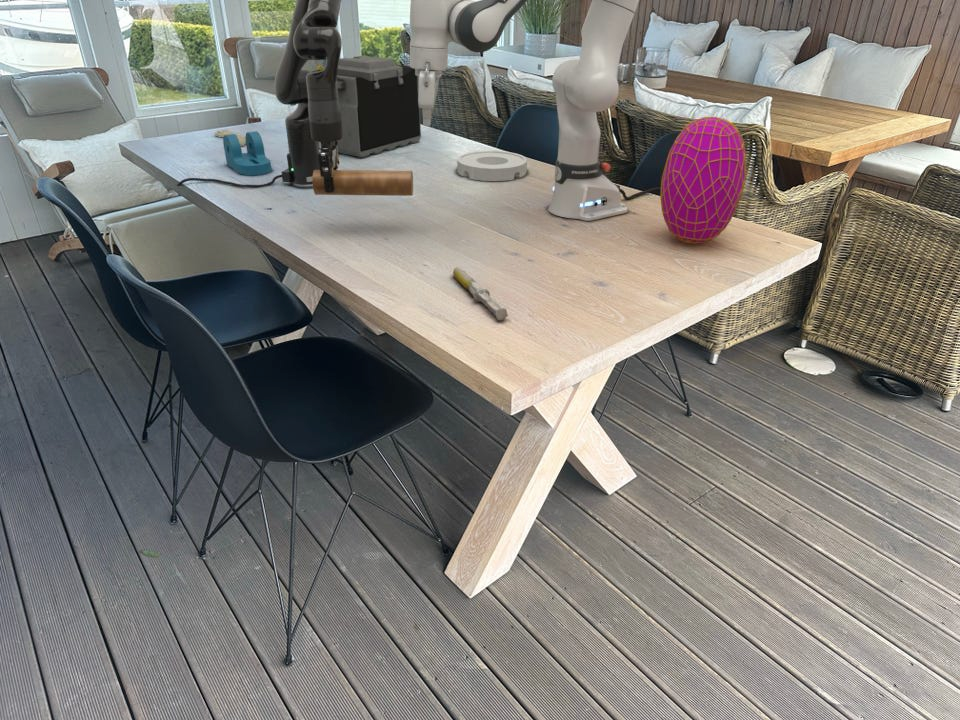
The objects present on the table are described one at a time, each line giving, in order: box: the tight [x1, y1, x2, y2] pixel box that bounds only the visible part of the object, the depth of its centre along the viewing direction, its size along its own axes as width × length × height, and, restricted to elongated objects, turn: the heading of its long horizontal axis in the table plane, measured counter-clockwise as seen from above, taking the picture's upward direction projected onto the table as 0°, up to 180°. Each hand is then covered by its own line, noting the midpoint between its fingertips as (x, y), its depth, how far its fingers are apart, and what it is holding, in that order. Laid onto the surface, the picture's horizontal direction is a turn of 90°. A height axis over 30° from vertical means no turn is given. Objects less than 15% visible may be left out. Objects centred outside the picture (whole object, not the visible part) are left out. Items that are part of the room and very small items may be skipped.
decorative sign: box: [214, 129, 246, 147], centre depth 266 cm, size 26×1×10 cm
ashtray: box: [456, 150, 528, 182], centre depth 228 cm, size 23×23×4 cm
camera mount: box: [222, 131, 272, 176], centre depth 226 cm, size 18×10×10 cm, turn 35°
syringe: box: [452, 266, 509, 321], centre depth 145 cm, size 25×4×3 cm, turn 21°
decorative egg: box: [659, 116, 747, 244], centre depth 167 cm, size 19×19×30 cm
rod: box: [312, 169, 414, 197], centre depth 172 cm, size 24×6×6 cm, turn 91°
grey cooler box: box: [337, 55, 422, 159], centre depth 250 cm, size 37×22×30 cm, turn 144°
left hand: (332, 187), depth 172 cm, fingers closed on rod, 6 cm apart
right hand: (427, 121), depth 167 cm, fingers open, 8 cm apart
